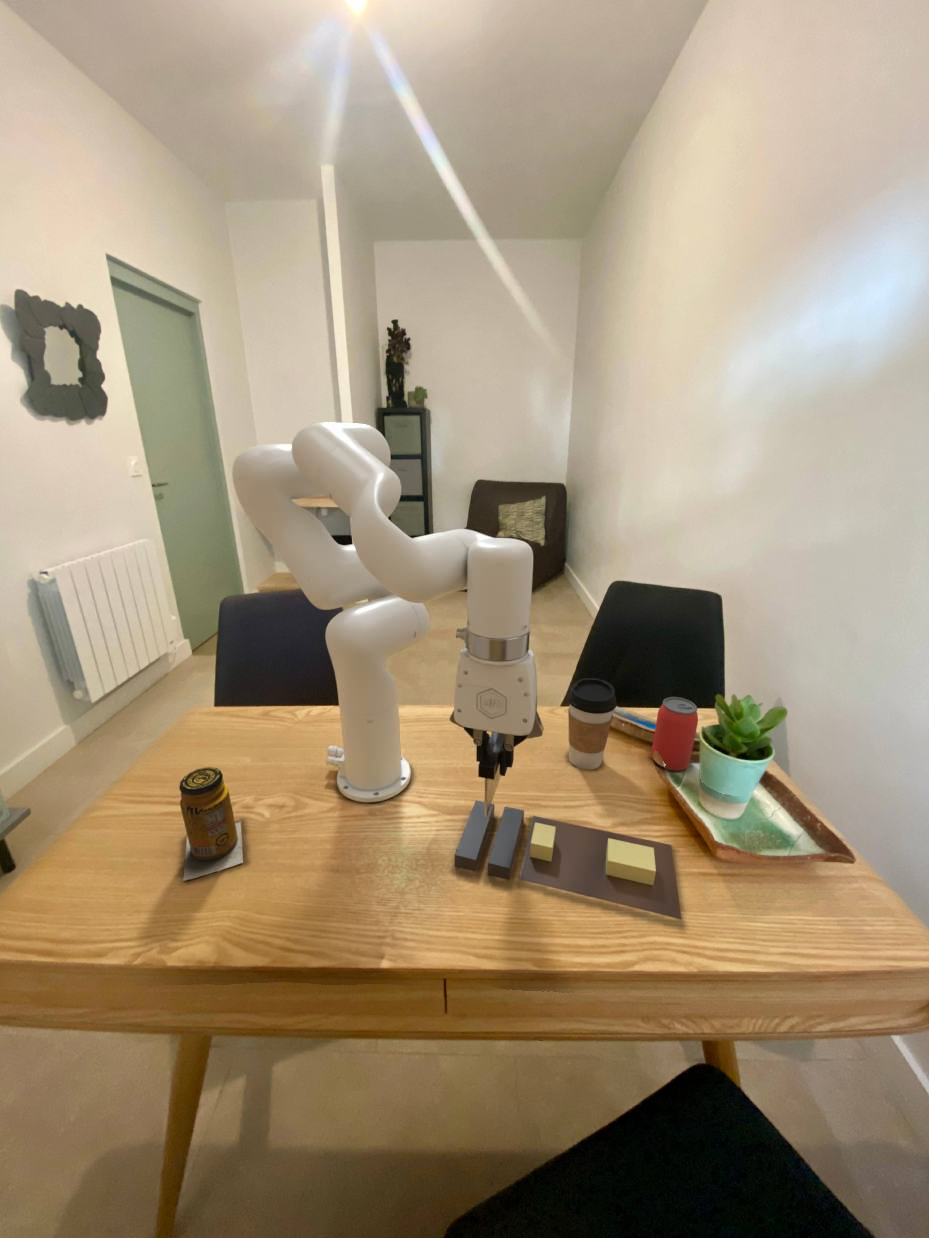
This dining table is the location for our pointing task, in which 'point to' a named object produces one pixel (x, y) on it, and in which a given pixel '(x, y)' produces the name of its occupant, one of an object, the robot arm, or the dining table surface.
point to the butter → (630, 861)
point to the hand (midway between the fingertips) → (494, 766)
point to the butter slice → (542, 842)
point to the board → (601, 869)
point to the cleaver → (491, 767)
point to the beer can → (675, 732)
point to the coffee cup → (589, 721)
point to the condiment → (208, 824)
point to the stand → (503, 843)
